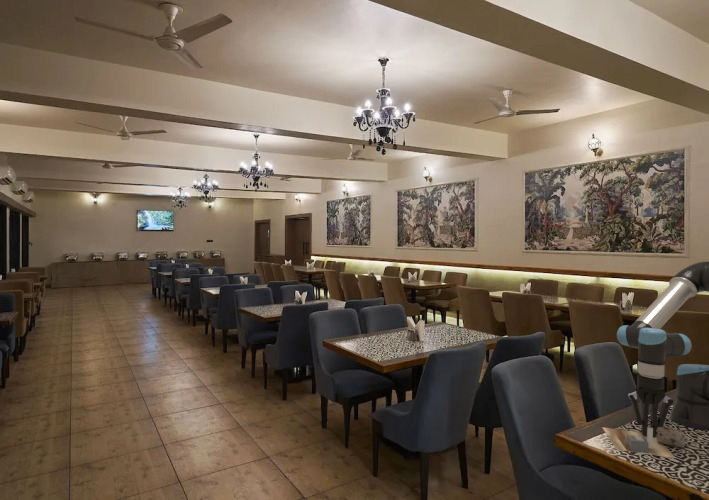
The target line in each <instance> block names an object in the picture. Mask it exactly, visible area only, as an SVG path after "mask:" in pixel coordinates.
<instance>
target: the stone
mask: <svg viewBox="0 0 709 500" xmlns="http://www.w3.org/2000/svg"><path fill="white" fill-rule="evenodd" d="M656 437H657V440H658V441H659V442H661V443H663V444H664V445H668V446H671V447H675V448H680V449H684V448H685V446H686V444H687V441H686V434H685V432H683V431H682V430H681V429H678V428H674V427H670V426H665V425H663V427H658V429H656Z"/></svg>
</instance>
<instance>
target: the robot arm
mask: <svg viewBox="0 0 709 500" xmlns="http://www.w3.org/2000/svg"><path fill="white" fill-rule="evenodd" d="M668 284H669V285H668V286H667V287H666V288H665V289H664V290H663V292H661V293H660V294H659V296H657V298H656V299H655V300H654V301H653V302H652V303H651V304H650V305H649V306H648V308H647V309H645V310H644V312H643V313H642V314H640V316H639V317H638V318H637V319H636V320H635V321H634V322H633V323H632V324H631V325H628V324H626V325H621V326H620V327H619V328H618V329H617V332H616V339H617V341H618V342H619V343H620V344H621V345H622V346H625V347H629V348H634V349H638V355H637V356H638V359H637V373H638V374H637V379H636V388H635V390H634V392H628V393H627V396H628V398H629V400H630V402H631V407H632V412H633V416H634V420H635V422H636V423H637V424H638V425H639V426H641V433H642V435H643V436H645V439H646V441H647V442H648V443H649V444H648V448H652V442H653V438H655V437H657V436H656V429H658V427H663V426H665V422H666V419H667V415H668V412H669V411H670V407H671V406H672V405H673V406H672V409H671V411H670V415H669V416H670V420H671V421H673V422H675V423H677V424H679V425H682V426H685V427H688V428H692V429H698V430H702V431H703V430H706V431H709V365H707V364H699V363H694V364H693V363H683V364H680V365H678V366H677V372H676V395H675V396H676V397H675V402H674V400H673V399H672V398H671V397H669V396H667V395H666V392H665V378H664V377H665V376H666V374H665V373H666V372H665V371H666V357H667V358H668V357H669V358H670V357H681V356H685V355H686V356H687V354H689V353H690V352H691V350H692V346H693V345H692V341H691V340H690V338H689V337H688V336H687V335H685V334H683V333H678V332H673V333H669V332H666V331H665V330H664V329H662V328H663V326H664V325H665V324H666V323H667V322H668V321H669V320H670V319H671V318H672V317H673V316H674V315H675V313H677V312H678V310H679V309H680V308H681V307H682V306H683V305H684V304H685V302H686V301H688V300H689V299H690V298H693V297H695V296H696V295H697V294H699V293H701V292H707V293H709V261H699V262H695V263H693V264H691V265H688V266H687V267H685V268H683V269H681V270H680V271H678V272H677V273H676V274H675V275H673V277H672V278H671V279H669V282H668ZM638 398H639V399H640V401H641V414H640V409H639V405H638V401H637V400H638ZM661 401H662V404H661V407H660V410H659V414H658V408H659V404H660V402H661ZM673 403H674V404H673ZM649 411H650V418H649ZM649 419H650V420H649Z"/></svg>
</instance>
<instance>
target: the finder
mask: <svg viewBox="0 0 709 500" xmlns="http://www.w3.org/2000/svg"><path fill="white" fill-rule="evenodd" d="M648 444H649V443H648V442H647V441H646V439H645V438H644V437H640V436H633V435H627V438H626V445H627V447H628V448H629V449H630V451H634V452H633V453H636V452H641V453H640V454H643V453H648Z"/></svg>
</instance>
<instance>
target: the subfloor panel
mask: <svg viewBox="0 0 709 500" xmlns="http://www.w3.org/2000/svg"><path fill="white" fill-rule="evenodd" d="M601 429H603V432H605V435H606V436H607V438H608V439H609V440H610V441H611V443H612V445H613V446H614V448H615V449H616V451H624V452H630V453H636V454H637V453H638V454H645V455H652V456H657V457H663V458H664V457H665V458H670V459H671V458H673V459H677V457H676V455H674V454H673V453H672V452H671V450H669V449H668V447H667V446H666V444H663V443H661V442H659V441H658V440H657V436H656V437H655V438H653V442H652V448H648V453H641V452H634V451H630V449H629V448H628V447H627V445H626V438H627V435H633V436H640V437H644V438H645V436H643V435H642V431H641V432H640V431H634V430H627V429H626V430H625V429H617V428H611V427H603V426H602V427H601Z"/></svg>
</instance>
